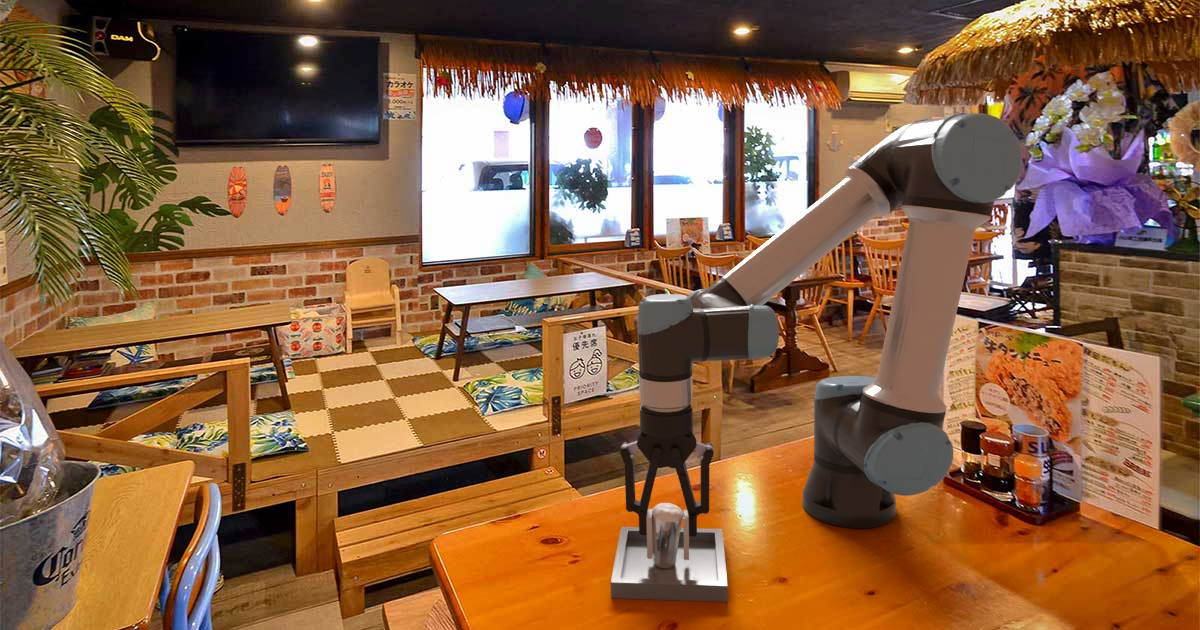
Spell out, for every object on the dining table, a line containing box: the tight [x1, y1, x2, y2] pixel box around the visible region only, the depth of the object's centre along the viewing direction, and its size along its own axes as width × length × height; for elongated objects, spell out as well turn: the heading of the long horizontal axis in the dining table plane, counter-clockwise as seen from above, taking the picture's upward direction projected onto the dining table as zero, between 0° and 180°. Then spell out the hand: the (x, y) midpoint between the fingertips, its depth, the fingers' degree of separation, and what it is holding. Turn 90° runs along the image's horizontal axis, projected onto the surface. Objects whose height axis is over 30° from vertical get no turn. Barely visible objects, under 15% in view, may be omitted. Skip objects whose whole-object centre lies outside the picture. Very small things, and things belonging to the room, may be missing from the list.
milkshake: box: [652, 502, 687, 569], centre depth 105 cm, size 4×5×10 cm
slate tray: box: [610, 526, 729, 603], centre depth 106 cm, size 16×16×2 cm
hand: (668, 554), depth 106 cm, fingers closed on milkshake, 5 cm apart
